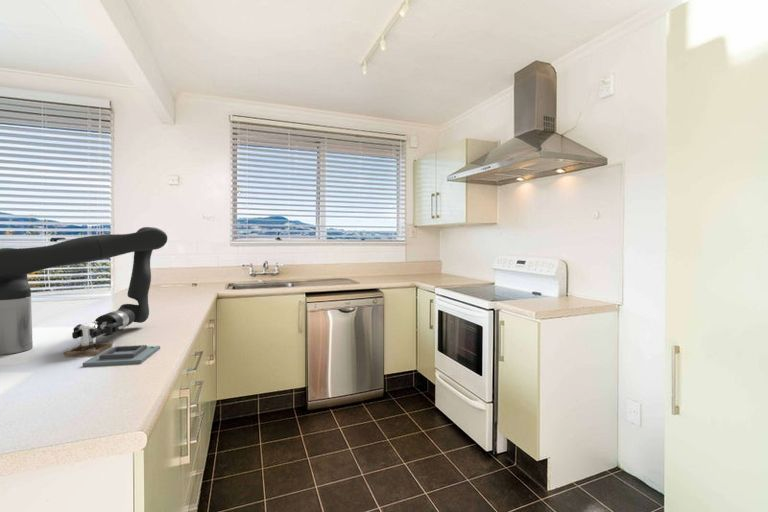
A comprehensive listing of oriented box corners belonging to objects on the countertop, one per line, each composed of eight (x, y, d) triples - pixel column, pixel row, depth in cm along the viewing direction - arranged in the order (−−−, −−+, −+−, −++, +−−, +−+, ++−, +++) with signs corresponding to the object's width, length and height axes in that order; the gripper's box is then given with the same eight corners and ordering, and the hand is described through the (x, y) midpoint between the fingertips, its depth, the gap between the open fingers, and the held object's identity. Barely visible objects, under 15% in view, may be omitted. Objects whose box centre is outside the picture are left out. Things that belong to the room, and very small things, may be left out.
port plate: (82, 366, 101) (82, 359, 101) (108, 351, 115) (108, 344, 115) (141, 363, 104) (141, 355, 104) (160, 348, 118) (160, 342, 118)
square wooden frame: (63, 356, 109) (63, 352, 109) (81, 347, 118) (81, 344, 118) (97, 355, 111) (97, 351, 111) (112, 346, 120) (112, 342, 120)
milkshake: (88, 354, 112) (89, 323, 111) (75, 352, 113) (75, 321, 112) (103, 350, 116) (103, 320, 115) (89, 348, 117) (90, 318, 117)
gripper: (89, 313, 126) (56, 324, 109) (134, 311, 129) (108, 322, 113) (89, 333, 126) (57, 348, 110) (134, 331, 130) (109, 345, 113)
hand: (83, 335), depth 111 cm, fingers closed on milkshake, 4 cm apart
